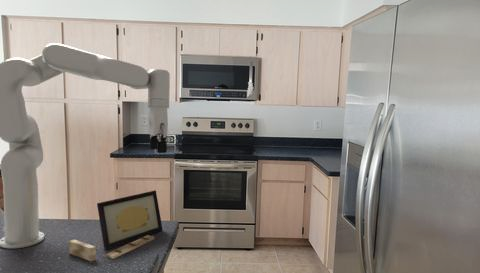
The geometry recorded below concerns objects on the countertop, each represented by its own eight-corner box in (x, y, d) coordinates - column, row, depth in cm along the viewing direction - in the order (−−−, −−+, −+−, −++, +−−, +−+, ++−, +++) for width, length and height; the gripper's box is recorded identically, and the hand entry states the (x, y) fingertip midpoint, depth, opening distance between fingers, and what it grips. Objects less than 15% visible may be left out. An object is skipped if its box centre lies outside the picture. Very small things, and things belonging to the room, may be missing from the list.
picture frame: (106, 250, 108) (103, 203, 107) (91, 245, 113) (88, 201, 113) (163, 230, 126) (160, 190, 126) (147, 227, 132) (145, 189, 131)
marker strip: (106, 256, 104) (106, 253, 104) (147, 237, 120) (147, 234, 120) (113, 258, 102) (113, 255, 102) (154, 239, 118) (154, 236, 118)
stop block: (69, 253, 105) (69, 241, 104) (74, 251, 106) (74, 239, 106) (91, 261, 100) (91, 248, 100) (95, 259, 102) (95, 246, 101)
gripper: (142, 103, 128) (141, 148, 129) (155, 104, 113) (154, 154, 115) (161, 104, 132) (161, 147, 133) (176, 104, 117) (175, 153, 118)
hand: (158, 150), depth 124 cm, fingers open, 9 cm apart
